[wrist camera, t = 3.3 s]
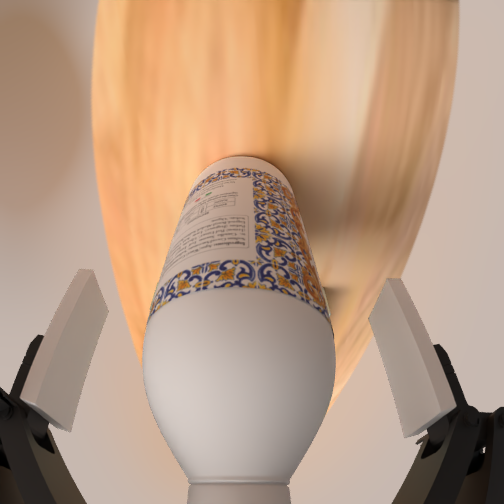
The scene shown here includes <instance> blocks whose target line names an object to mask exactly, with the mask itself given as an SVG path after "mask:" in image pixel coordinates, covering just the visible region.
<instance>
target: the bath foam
mask: <svg viewBox="0 0 504 504" xmlns="http://www.w3.org/2000/svg"><path fill="white" fill-rule="evenodd" d="M147 323H148V324H147V325H146V326H147V328H145V329H146V332H144V333H145V337H144V344H143V356H142V367H143V379H144V386H145V391H146V395H147V399H148V402H149V405H150V408H151V411H152V413H153V416H154V418H155V420H156V422H157V425H158V427H159V429H160V431H161V433H162V435H163V437H164V438H165V440H166V442H167V444H168V446H169V448H170V449H171V451H172V453H173V455H174V456H175V458H176V459H177V461H178V463H179V465H180V466H181V468H182V470H183V471H184V473H185V474H186V476H187V478H188V482H189V483H190V484H191V485H190V486H189V490H188V500H187V504H291V501H290V491H289V487H288V486H287V485H288V484H289V483H290V478H291V476H292V475H293V473H294V472H295V470H296V469H297V467H298V465H299V464H300V462H301V460H302V459H303V457H304V455H305V454H306V452H307V450H308V448H309V447H310V445H311V443H312V441H313V439H314V437H315V435H316V434H317V432H318V430H319V427H320V426H321V424H322V421H323V419H324V417H325V414H326V412H327V409H328V406H329V403H330V400H331V397H332V392H333V387H334V381H335V368H336V357H335V344H334V333H333V329H332V325H331V321H330V317H329V313H328V309H327V306H326V302H325V298H324V294H323V291H322V287H321V283H320V279H319V276H318V272H317V269H316V265H315V262H314V258H313V255H312V251H311V248H310V244H309V241H308V238H307V234H306V231H305V228H304V224H303V221H302V218H301V215H300V211H299V208H298V205H297V202H296V200H295V197H294V194H293V191H292V188H291V186H290V184H289V182H288V180H287V179H286V177H285V176H284V175H283V174H282V173H281V172H280V171H279V170H278V169H277V168H276V167H274V166H273V165H271V164H270V163H268V162H266V161H264V160H261V159H258V158H254V157H246V156H236V157H228V158H224V159H221V160H219V161H217V162H215V163H213V164H211V165H210V166H208V167H207V168H206V169H204V170H203V171H202V172H201V173H200V175H199V176H198V177H197V178H196V180H195V182H194V183H193V185H192V187H191V190H190V192H189V195H188V198H187V200H186V202H185V205H184V208H183V210H182V213H181V216H180V219H179V222H178V225H177V227H176V230H175V233H174V236H173V239H172V242H171V245H170V248H169V251H168V254H167V257H166V260H165V264H164V267H163V270H162V273H161V276H160V280H159V283H158V286H157V290H156V293H155V296H154V300H153V303H152V307H151V310H150V314H149V317H148V321H147Z"/></svg>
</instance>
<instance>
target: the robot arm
mask: <svg viewBox="0 0 504 504" xmlns="http://www.w3.org/2000/svg"><path fill="white" fill-rule="evenodd" d="M108 312H109V311H108V308H107V306H106V303H105V301H104V298H103V296H102V293H101V290H100V288H99V285H98V283H97V280H96V277H95V274H94V271H93V270H89V269H79V270H78V272H77V274H76V276H75V277H74V279H73V281H72V282H71V284H70V286H69V288H68V290H67V292H66V294H65V295H64V297H63V299H62V301H61V303H60V305H59V307H58V309H57V311H56V313H55V315H54V317H53V319H52V321H51V323H50V325H49V328H48V329H47V332H46V334H45V336H43V335H37V337H36V338H35V339H34V340H33V341H32V342H31V343H30V345H29V348H28V350H27V352H26V356H25V357H24V359H23V361H22V362H23V363H22V364H21V366H20V369H19V371H18V374H17V376H16V379H15V381H14V384H13V387H12V389H11V392H10V394H9V395H8V394H7V393H6V392H5V391H4V390H3V389H2V388H1V387H0V504H87V503H86V502H85V500H84V498H83V497H82V495H81V493H80V491H79V489H78V488H77V486H76V484H75V482H74V480H73V479H72V477H71V475H70V473H69V471H68V469H67V467H66V465H65V463H64V461H63V458H62V456H61V454H60V452H59V450H58V447H57V445H56V443H55V441H54V438H53V436H52V433H51V431H50V430H49V428H48V425H49V423H51V424H52V425H53V426H55V427H56V428H59V429H62V430H65V431H68V432H71V429H72V425H73V421H74V417H75V413H76V409H77V406H78V402H79V399H80V395H81V392H82V388H83V385H84V381H85V378H86V375H87V372H88V369H89V366H90V363H91V359H92V356H93V353H94V351H95V348H96V345H97V341H98V339H99V336H100V334H101V331H102V328H103V325H104V322H105V320H106V317H107V315H108ZM368 319H369V321H370V324H371V327H372V330H373V333H374V336H375V339H376V342H377V344H378V348H379V351H380V354H381V357H382V360H383V363H384V367H385V370H386V373H387V376H388V380H389V383H390V386H391V390H392V393H393V397H394V400H395V404H396V408H397V411H398V415H399V419H400V423H401V426H402V431H403V435H404V438H407V437H411V436H414V435H418V434H420V433H421V432H423V431H424V430H426V429H427V432H428V434H426V435H425V436H423V437H422V438H420V439H419V440H418V441H417V442H416V444H417V445H418V444H419V443H421V442H423V443H422V445H421V447H420V450H419V452H418V454H417V456H416V458H415V460H414V463H413V465H412V467H411V469H410V471H409V473H408V475H407V477H406V479H405V481H404V483H403V484H402V486H401V488H400V490H399V492H398V493H397V495H396V497H395V499H394V500H393V502H392V504H504V407H500V408H498V409H497V410H496V411H494V412H493V413H485V412H479V411H478V410H477V409H476V408H475V407H473V406H469V405H468V404H467V402H466V400H465V397H464V394H463V391H462V389H461V386H460V384H459V381H458V378H457V376H456V374H455V373H454V369H453V366H452V365H451V361H450V359H449V357H448V354H447V353H446V351H445V350H444V349H443V348H442V347H441V346H440V344H437V345H433V344H432V342H431V340H430V337H429V335H428V333H427V331H426V329H425V326H424V324H423V322H422V320H421V318H420V316H419V314H418V312H417V309H416V307H415V306H414V303H413V301H412V300H411V297H410V296H409V294H408V292H407V290H406V288H405V286H404V284H403V282H402V280H401V279H387V280H386V282H385V284H384V287H383V289H382V291H381V293H380V295H379V297H378V300H377V302H376V304H375V306H374V308H373V310H372V312H371V314H370V316H369V318H368ZM484 447H486V448H485V453H483V448H484Z"/></svg>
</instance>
